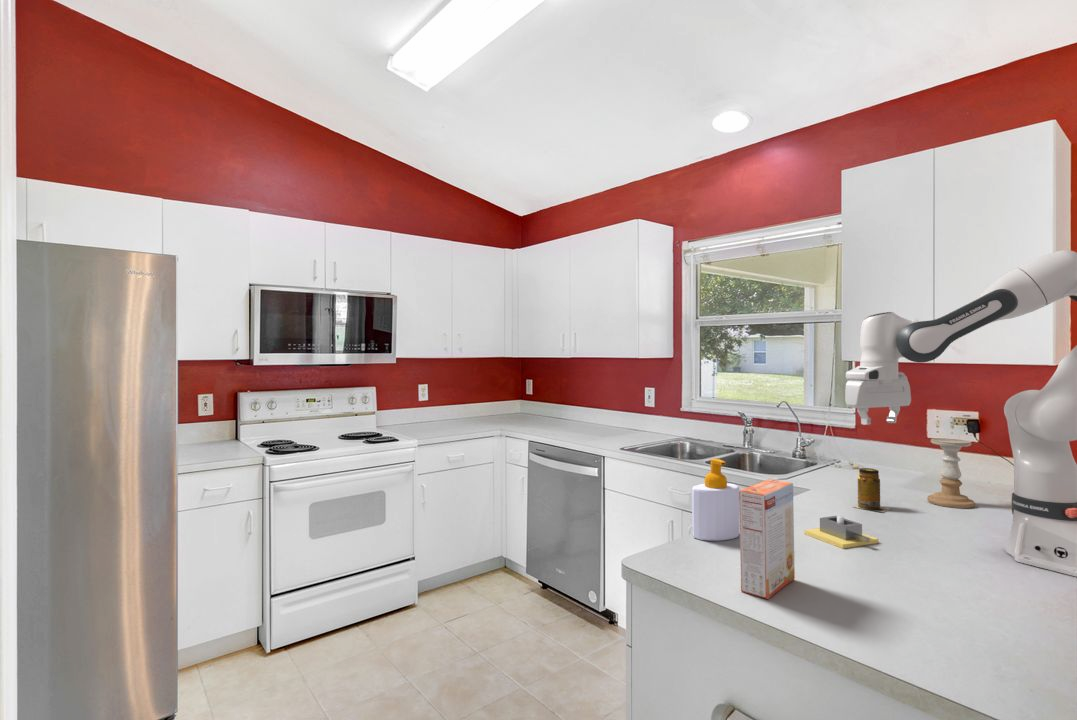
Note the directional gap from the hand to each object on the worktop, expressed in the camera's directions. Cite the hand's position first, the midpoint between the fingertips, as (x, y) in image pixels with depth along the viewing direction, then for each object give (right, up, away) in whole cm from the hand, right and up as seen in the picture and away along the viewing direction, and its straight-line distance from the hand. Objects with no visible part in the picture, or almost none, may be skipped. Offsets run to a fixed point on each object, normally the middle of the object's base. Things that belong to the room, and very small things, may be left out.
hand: (878, 423), depth 150 cm
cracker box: (-45, -30, -35) cm, 64 cm away
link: (-13, -28, -8) cm, 32 cm away
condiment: (+11, -29, +22) cm, 38 cm away
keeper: (-14, -29, -6) cm, 33 cm away
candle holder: (+40, -29, +27) cm, 56 cm away
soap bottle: (-45, -30, -3) cm, 54 cm away
